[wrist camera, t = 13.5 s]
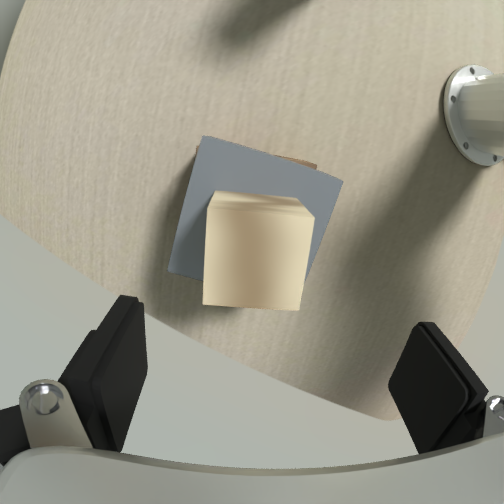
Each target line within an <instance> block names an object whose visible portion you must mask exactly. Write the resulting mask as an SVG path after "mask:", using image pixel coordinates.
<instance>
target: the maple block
mask: <svg viewBox="0 0 504 504" xmlns="http://www.w3.org/2000/svg"><path fill="white" fill-rule="evenodd" d="M314 220H315V217H314V216H313V215H312V214H311V213H310V212H309V211H308V210H307V209H306V208H305V206H304V205H303V204H302V203H301V202H300V201H299V200H298V199H297V198H293V197H283V196H273V195H263V194H252V193H241V192H229V191H216V190H215V192H214V194H213V197H212V199H211V201H210V203H209V206H208V208H207V222H206V239H205V259H204V282H203V304H204V305H216V306H229V307H243V308H258V309H275V310H295V311H299V307H300V302H301V297H302V291H303V286H304V280H305V275H306V269H307V263H308V257H309V251H310V245H311V239H312V233H313V227H314Z"/></svg>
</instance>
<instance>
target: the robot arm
mask: <svg viewBox="0 0 504 504" xmlns="http://www.w3.org/2000/svg"><path fill="white" fill-rule="evenodd" d="M444 114H445V121H446V124H447V128H448V131H449V133H450V136H451V138H452V140H453V142H454V144H455V145H456V147H457V148H458V150H459V151H460V152H461V153H462V155H464V156H465V157H466V158H467V159H468V160H470V161H472V162H473V163H476V164H479V165H485V166H491V165H495V164H497V163H499V162H500V161H501V160H503V159H504V73H502V74H494V73H492V72H491V71H490V70H488V69H487V68H485V67H482V66H480V65H475V64H474V65H466V66H462V67H460V68H458V69H457V70H455V71H454V72H453V73H452V75H451V76H450V78H449V80H448V82H447V84H446V88H445V92H444ZM147 369H148V365H147V352H146V338H145V320H144V304H143V303H142V302H139V300H138V298H137V297H132V296H125V295H120V296H119V297H118V299H117V300H116V302H115V303H114V305H113V306H112V307H111V309H110V311H109V312H108V313H107V315H106V316H105V318H104V319H103V321H102V322H101V324H100V326H99V327H98V328H97V330H91V331H90V332H89V333H88V335H87V336H86V338H85V339H84V341H83V342H82V344H81V345H80V347H79V348H78V350H77V352H76V353H75V355H74V356H73V358H72V359H71V361H70V362H69V364H68V365H67V367H66V369H65V370H64V372H63V373H62V375H61V377H60V378H59V380H58V381H54V380H48V379H42V380H37V381H34V382H31V383H30V384H29V385H27V386H26V387H25V388H24V389H23V390H22V392H21V394H20V397H19V405H16V406H13V407H9V408H6V409H2V410H0V504H504V397H501V396H492V397H490V398H489V399H488V400H487V401H486V402H485V400H484V398H485V396H486V395H487V393H488V392H489V391H488V389H487V388H486V387H485V385H484V384H483V383H482V381H481V380H480V379H479V377H478V376H477V375H476V373H475V372H474V371H473V370H472V368H471V367H470V366H469V364H468V363H467V362H466V361H465V359H464V358H463V357H462V356H461V354H460V353H459V352H458V351H457V349H456V348H455V347H454V346H453V345H452V343H451V342H450V341H449V340H448V338H447V337H446V336H445V335H444V334H443V332H442V331H441V330H440V329H439V328H438V327H437V325H436V324H435V323H434V322H419V323H418V324H417V325H416V326H414V327H413V329H412V331H411V334H410V336H409V338H408V341H407V343H406V345H405V348H404V350H403V352H402V354H401V357H400V359H399V361H398V363H397V365H396V367H395V369H394V372H393V374H392V376H391V378H390V380H389V383H388V388H389V391H390V393H391V395H392V397H393V399H394V401H395V403H396V405H397V408H398V410H399V412H400V414H401V416H402V418H403V420H404V422H405V425H406V427H407V429H408V431H409V433H410V436H411V438H412V440H413V442H414V444H415V447H416V449H417V451H418V453H419V454H418V455H414V456H408V457H403V458H397V459H392V460H386V461H379V462H373V463H365V464H356V465H347V466H337V467H323V468H302V469H251V468H231V467H218V466H208V465H198V464H189V463H181V462H174V461H167V460H160V459H154V458H148V457H142V456H137V455H130V454H124V453H120V452H121V451H122V448H123V445H124V441H125V439H126V435H127V432H128V429H129V426H130V423H131V419H132V417H133V414H134V411H135V407H136V405H137V402H138V399H139V396H140V393H141V390H142V387H143V384H144V381H145V378H146V375H147Z"/></svg>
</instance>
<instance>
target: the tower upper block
mask: <svg viewBox="0 0 504 504" xmlns="http://www.w3.org/2000/svg"><path fill="white" fill-rule="evenodd" d="M342 184H343V181H342V180H340V179H338V178H336V177H333V176H331V175H329V174H326V173H324V172H321V171H318V170H316V169H313V168H310V167H307V166H304V165H301V164H299V163H296V162H293V161H290V160H287V159H284V158H281V157H278V156H275V155H271V154H268V153H265V152H262V151H259V150H256V149H252V148H249V147H246V146H242V145H239V144H236V143H232V142H229V141H225V140H222V139H218V138H214V137H211V136H202V139H201V143H200V146H199V149H198V153H197V156H196V159H195V163H194V166H193V170H192V174H191V177H190V181H189V184H188V188H187V192H186V196H185V199H184V203H183V207H182V211H181V215H180V219H179V223H178V227H177V231H176V235H175V239H174V243H173V248H172V252H171V256H170V261H169V265H168V270H167V271H168V272H172V273H175V274H179V275H182V276H186V277H189V278H193V279H197V280H200V281H204V259H205V239H206V222H207V208H208V206H209V203H210V201H211V199H212V197H213V194H214V192H215V190H216V191H229V192H241V193H252V194H263V195H273V196H283V197H293V198H297V199H298V200H299V201H300V202H301V203H302V204H303V205H304V206H305V208H306V209H307V210H308V211H309V212H310V213H311V214H312V215H313V216H314V217H315V220H314V227H313V233H312V239H311V245H310V251H309V257H308V263H307V269H306V275H305V280H306V278H307V275H308V273H309V271H310V268H311V266H312V263H313V261H314V258H315V256H316V253H317V250H318V248H319V245H320V243H321V240H322V238H323V235H324V232H325V230H326V227H327V225H328V222H329V219H330V217H331V214H332V211H333V209H334V206H335V203H336V200H337V198H338V195H339V192H340V189H341V187H342ZM305 280H304V283H305Z"/></svg>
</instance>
